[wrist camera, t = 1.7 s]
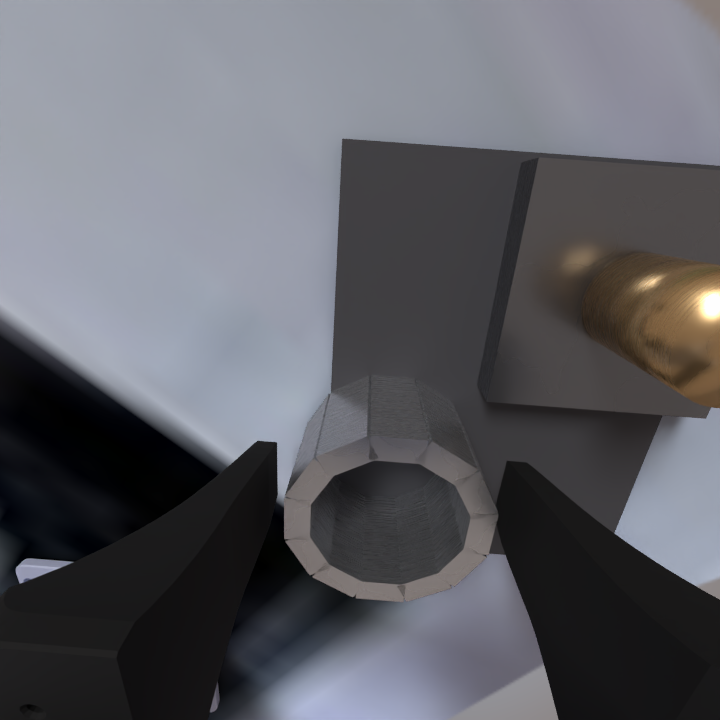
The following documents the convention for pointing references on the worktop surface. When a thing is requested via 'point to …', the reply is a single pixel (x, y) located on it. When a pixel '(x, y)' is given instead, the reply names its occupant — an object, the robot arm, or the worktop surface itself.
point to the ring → (388, 514)
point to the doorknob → (608, 290)
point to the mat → (458, 319)
